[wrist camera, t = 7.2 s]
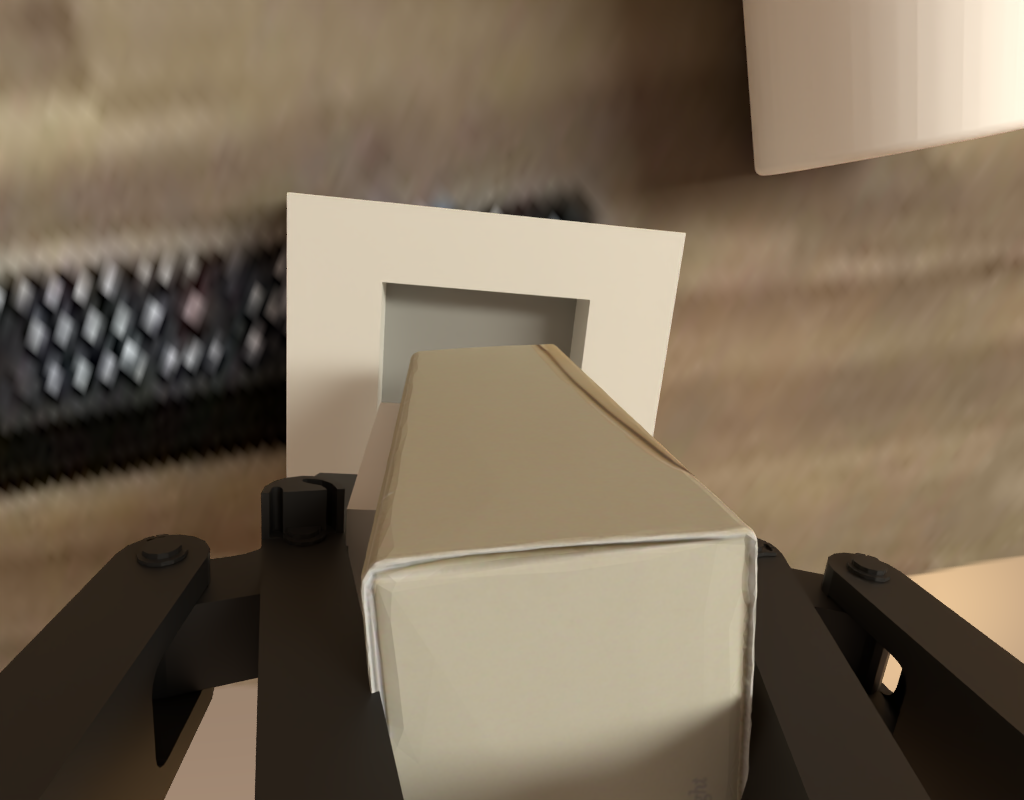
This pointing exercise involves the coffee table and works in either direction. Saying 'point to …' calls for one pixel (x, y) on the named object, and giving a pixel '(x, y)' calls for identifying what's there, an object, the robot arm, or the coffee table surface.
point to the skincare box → (553, 594)
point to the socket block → (458, 308)
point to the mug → (879, 77)
